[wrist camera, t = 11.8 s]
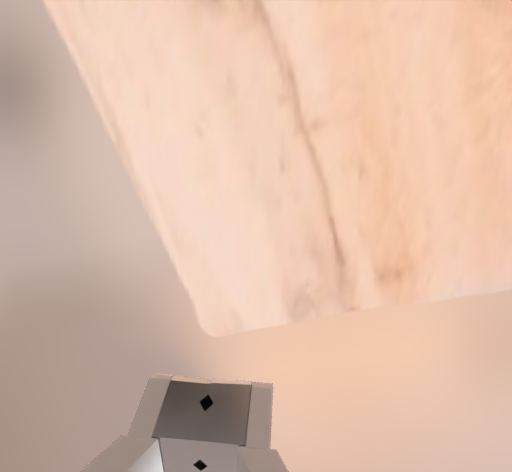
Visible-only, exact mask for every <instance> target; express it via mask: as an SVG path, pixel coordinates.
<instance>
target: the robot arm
mask: <svg viewBox="0 0 512 472" xmlns="http://www.w3.org/2000/svg"><path fill="white" fill-rule="evenodd" d="M272 400H273V383H260V382H252V381H241V380H240V381H239V380H225V379H204V378H195V377H185V376H177V375H167V374H156V373H153V375H152V376H151V377H150V379H149V381H148V384H147V386H146V389H145V391H144V394H143V397H142V399H141V402H140V404H139V407H138V410H137V412H136V415H135V417H134V420H133V423H132V425H131V428H130V430H129V433H128V435H127V436H126V435H121V436H120V437H119V438H117V439H116V440H115V441H114V442H113V443H112V444H111V445H110V446H108V447H107V448H106V449H105V450H104V451H103V452H102V453H100V454H99V455H98V456H97V457H96V458H95V459H94V460H93V461H92V462H90V463H89V464H88V465H87V466H86V467H85V468H84V469H82V470H81V471H80V472H289V471H288V470H287V468H286V466H285V464H284V462H283V461H282V459H281V457H280V455H279V453H278V452H277V450H275V449H270V441H271V420H272Z"/></svg>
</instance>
